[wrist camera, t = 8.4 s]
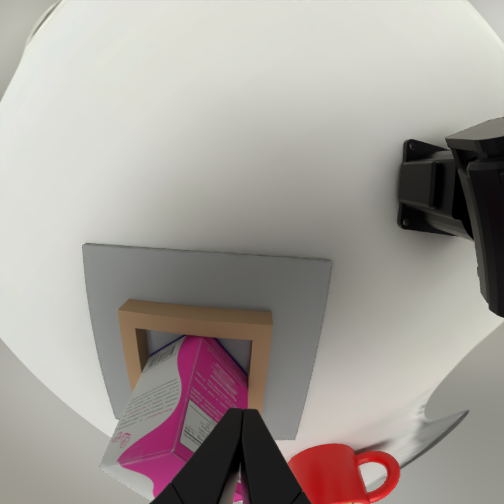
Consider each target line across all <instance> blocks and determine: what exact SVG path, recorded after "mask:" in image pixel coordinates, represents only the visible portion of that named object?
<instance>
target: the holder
mask: <svg viewBox="0 0 504 504" xmlns="http://www.w3.org/2000/svg"><path fill="white" fill-rule="evenodd" d="M82 250H83V263H84V273H85V282H86V290H87V298H88V305H89V311H90V317H91V323H92V329H93V334H94V339H95V344H96V349H97V353H98V358H99V362H100V366H101V370H102V374H103V378H104V382H105V385H106V389H107V393H108V396H109V399H110V403H111V406H112V409H113V412H114V415H115V418H116V419H118V420H120V418H121V416H122V413H123V411H124V409H125V407H126V405H127V403H128V401H129V399H130V397H131V394H132V392H133V390H134V388H135V386H136V384H137V382H138V380H139V378H140V376H141V374H142V372H143V369H144V367H145V365H146V363H147V361H148V359H149V356H150V354H152V353H154V352H155V351H157V350H159V349H160V348H162V347H164V346H165V345H167V344H169V343H171V342H172V341H174V340H176V339H177V338H179V337H181V336H182V335H184V334H185V335H195V336H205V337H215V338H217V340H218V341H219V342H220V343H221V344H222V345H223V347H224V348H225V349H226V350H227V351H228V352H229V354H230V355H231V356H232V357H233V358H234V359H235V361H236V362H237V363H238V364H239V365H240V366H241V367H242V368H243V370H244V371H245V372H246V373H247V374H248V409H257V410H258V411H259V413H260V415H261V417H262V418H263V420H264V422H265V424H266V426H267V428H268V430H269V431H270V433H271V435H272V437H273V439H274V440H295V438H296V434H297V431H298V427H299V424H300V420H301V416H302V412H303V408H304V405H305V401H306V397H307V393H308V388H309V384H310V380H311V376H312V371H313V367H314V362H315V358H316V353H317V348H318V343H319V338H320V333H321V328H322V323H323V317H324V312H325V306H326V300H327V294H328V288H329V282H330V275H331V269H332V262H331V260H321V259H306V258H291V257H276V256H261V255H246V254H231V253H217V252H202V251H188V250H173V249H159V248H145V247H131V246H117V245H103V244H89V243H86V244H83V245H82Z"/></svg>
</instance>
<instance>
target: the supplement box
mask: <svg viewBox="0 0 504 504" xmlns="http://www.w3.org/2000/svg"><path fill="white" fill-rule="evenodd" d="M229 408H242V409H243V410H244V409H245V408H248V374H247V373H246V372H245V371H244V370H243V368H242V367H241V366H240V365H239V364H238V363H237V362H236V361H235V359H234V358H233V357H232V356H231V355H230V354H229V352H228V351H227V350H226V349H225V348H224V347H223V345H222V344H221V343H220V342H219V341H218V340H217V338H215V337H205V336H195V335H185V334H184V335H182V336H181V337H179V338H177V339H176V340H174V341H172V342H171V343H169V344H167V345H165V346H164V347H162V348H160V349H159V350H157V351H155V352H154V353H152V354H150V356H149V359H148V361H147V363H146V365H145V367H144V369H143V372H142V374H141V376H140V378H139V380H138V382H137V384H136V386H135V388H134V390H133V392H132V394H131V397H130V399H129V401H128V403H127V405H126V407H125V409H124V411H123V413H122V416H121V418H120V420H119V422H118V424H117V427H116V429H115V431H114V434H113V436H112V438H111V440H110V443H109V445H108V447H107V449H106V452H105V454H104V456H103V459H102V461H101V463H100V465H99V467H100V469H101V470H103V471H104V472H106V473H107V474H108V475H110V476H112V477H113V478H114V479H116V480H118V481H119V482H121V483H123V484H124V485H126V486H127V487H129V488H131V489H132V490H134V491H136V492H137V493H139V494H141V495H142V496H144V497H146V498H147V499H149V500H151V501H153V500H154V499H155V497H156V496H157V495H158V494H159V493H160V492H161V491H162V490H163V489H164V488H165V487H166V486H167V484H168V483H171V480H172V479H173V478H174V477H175V475H176V474H177V473H178V472H179V471H180V469H181V468H182V467H183V466H184V465H185V463H186V462H187V461H188V460H189V459H190V457H191V456H192V455H193V454H194V452H195V451H196V450H197V449H198V447H199V446H200V445H201V444H202V442H203V441H204V440H205V439H206V437H207V436H208V435H209V433H210V432H211V431H212V430H213V428H214V427H215V426H216V424H217V423H218V422H219V420H220V419H221V418H222V416H223V415H224V414H225V412H226V411H227V410H228V409H229ZM241 500H243V499H242V489H241V477H240V472H239V477H238V482H237V486H236V491H235V495H234V499H233V502H237V501H241Z"/></svg>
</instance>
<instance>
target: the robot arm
mask: <svg viewBox="0 0 504 504" xmlns="http://www.w3.org/2000/svg"><path fill="white" fill-rule="evenodd" d="M445 139H446V142H447V145H448V147H450V149H451V150H447V149H444V148H441V147H438V146H434V145H431V144H428V143H424V142H421V141H417V140H413V139H409V140H406V141H405V143H404V158H403V164H402V165H401V179H400V190H399V200H400V206H399V215H398V225H399V227H400V228H403V229H407V230H415V231H423V232H430V233H438V234H445V235H452V236H460V237H463V238H465V239H468V240H471V241H474V243H475V249H476V255H477V263H478V267H477V272H478V277H479V280H480V290H481V294H482V295H483V297H484V299H485V300H486V302H487V303H488V304H489V310H490V311H492V312H493V313H495V314H496V315H498V316H500V317H503V318H504V117H502V118H497V119H492V120H488V121H486V122H483V123H481V124H478V125H476V126H473V127H471V128H468V129H466V130H463V131H461V132H458V133H456V134H453V135H451V136H448V137H446V138H445ZM410 143H411V144H412V147H413V148H412V149H411V148H410ZM404 219H406V224H405V225H404V224H403V221H404ZM239 472H240V477H241V489H242V499H243V504H312V503H311V501H310V500H309V498H308V497H307V495H306V493H305V492H304V491H303V489H302V487H301V486H300V484H299V482H298V481H297V479H296V477H295V476H294V474H293V472H292V470H291V469H290V467H289V465H288V464H287V462H286V460H285V458H284V457H283V455H282V453H281V451H280V450H279V448H278V446H277V444H276V442H275V441H274V439H273V437H272V435H271V433H270V431H269V430H268V428H267V426H266V424H265V422H264V420H263V418H262V417H261V415H260V413H259V411H258V410H257V409H248V408H245V409H244V410H243V409H242V408H229V409H228V410H227V411H226V412H225V414H224V415H223V416H222V418H221V419H220V420H219V422H218V423H217V424H216V426H215V427H214V428H213V430H212V431H211V432H210V433H209V435H208V436H207V437H206V439H205V440H204V441H203V442H202V444H201V445H200V446H199V447H198V449H197V450H196V451H195V452H194V454H193V455H192V456H191V457H190V459H189V460H188V461H187V462H186V463H185V465H184V466H183V467H182V468H181V469H180V471H179V472H178V473H177V474H176V475H175V477H174V478H173V479H172V480H171V483H168V484H167V486H166V487H165V488H164V489H163V490H162V491H161V492H160V493H159V494H158V495H157V496H156V497H155V499H154V500H153V501H152V502H151V503H150V504H232V503H233V499H234V495H235V491H236V486H237V482H238V477H239Z"/></svg>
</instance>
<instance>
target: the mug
mask: <svg viewBox="0 0 504 504" xmlns="http://www.w3.org/2000/svg"><path fill="white" fill-rule="evenodd" d="M368 462H376V463H380V464H382V465H383V466H384V467H385V468H386V470H387V478H386V481H385V482H384V484H383V485H382V486H381V487H379V488H378V489H376V490H374V491H372V492H368V493H367V491H366V487H365V484H364V481H363V478H362V475H361V471H360V468H359V465H361V464H364V463H368ZM288 465H289V467H290V469H291V470H292V472H293V474H294V476H295V477H296V479H297V481H298V482H299V484H300V486H301V487H302V489H303V491H304V492H305V493H306V495H307V497H308V498H309V500H310V501H311V503H312V504H370V503H374V502H376V501H379V500H381V499H382V498H384V497H386V496H387V495H388V494H389V493H390V492H391V491H392V490H393V489H394V488H395V486H396V485H397V483H398V481H399V478H400V467H399V464H398V462H397V461H396V459H395V458H394V457H393V456H391V455H390V454H388V453H385V452H382V451H367V452H363V453H360V454H357V455H355V453H354V451H353V449H352V448H351V447H349V446H347V445H343V444H325V445H319V446H315V447H312V448H309V449H306V450H304V451H302V452H300V453H298V454H297V455H295V456H294V457H293V458H291V460H290V461H289V462H288Z"/></svg>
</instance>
